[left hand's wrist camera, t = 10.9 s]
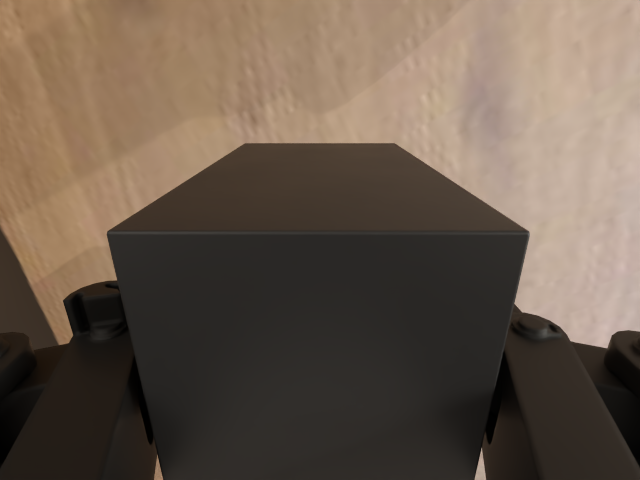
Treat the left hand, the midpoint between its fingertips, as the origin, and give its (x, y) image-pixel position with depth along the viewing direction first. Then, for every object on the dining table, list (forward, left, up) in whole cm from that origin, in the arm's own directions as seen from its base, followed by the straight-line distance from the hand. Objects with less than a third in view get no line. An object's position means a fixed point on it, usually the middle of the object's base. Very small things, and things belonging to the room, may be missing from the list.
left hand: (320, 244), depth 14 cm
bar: (+8, 0, -1) cm, 8 cm away
